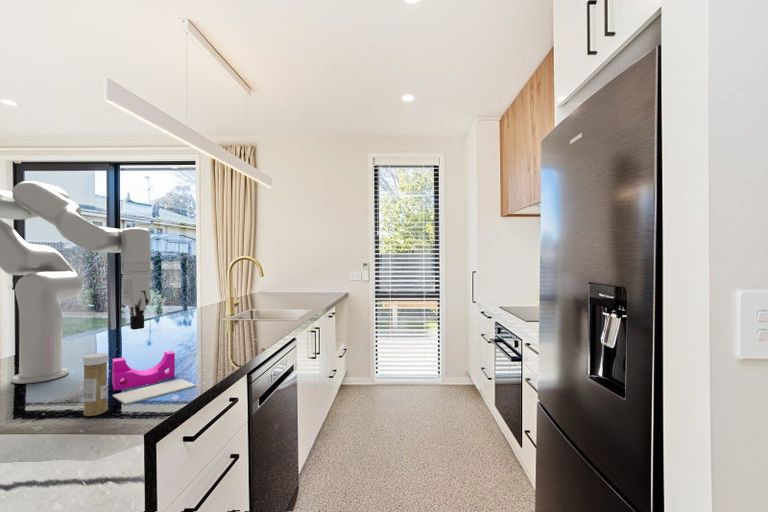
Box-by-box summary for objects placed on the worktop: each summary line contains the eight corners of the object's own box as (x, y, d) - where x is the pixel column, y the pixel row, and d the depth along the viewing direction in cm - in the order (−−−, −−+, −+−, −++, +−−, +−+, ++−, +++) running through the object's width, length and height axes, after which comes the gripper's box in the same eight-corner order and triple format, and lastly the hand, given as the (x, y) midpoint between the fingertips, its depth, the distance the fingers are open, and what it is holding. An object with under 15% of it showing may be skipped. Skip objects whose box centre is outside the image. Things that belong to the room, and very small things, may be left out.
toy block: (114, 391, 101) (114, 363, 101) (112, 385, 106) (112, 359, 106) (176, 380, 111) (176, 354, 111) (172, 375, 116) (172, 350, 116)
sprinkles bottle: (111, 411, 88) (112, 353, 88) (88, 418, 84) (89, 358, 84) (101, 407, 90) (101, 351, 90) (78, 414, 86) (79, 355, 86)
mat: (112, 396, 97) (112, 394, 97) (181, 379, 111) (181, 378, 111) (125, 404, 92) (125, 403, 92) (195, 386, 105) (195, 384, 105)
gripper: (113, 269, 116) (114, 328, 116) (131, 269, 107) (132, 333, 107) (140, 268, 122) (141, 324, 122) (159, 268, 113) (161, 329, 113)
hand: (137, 328), depth 114 cm, fingers closed
